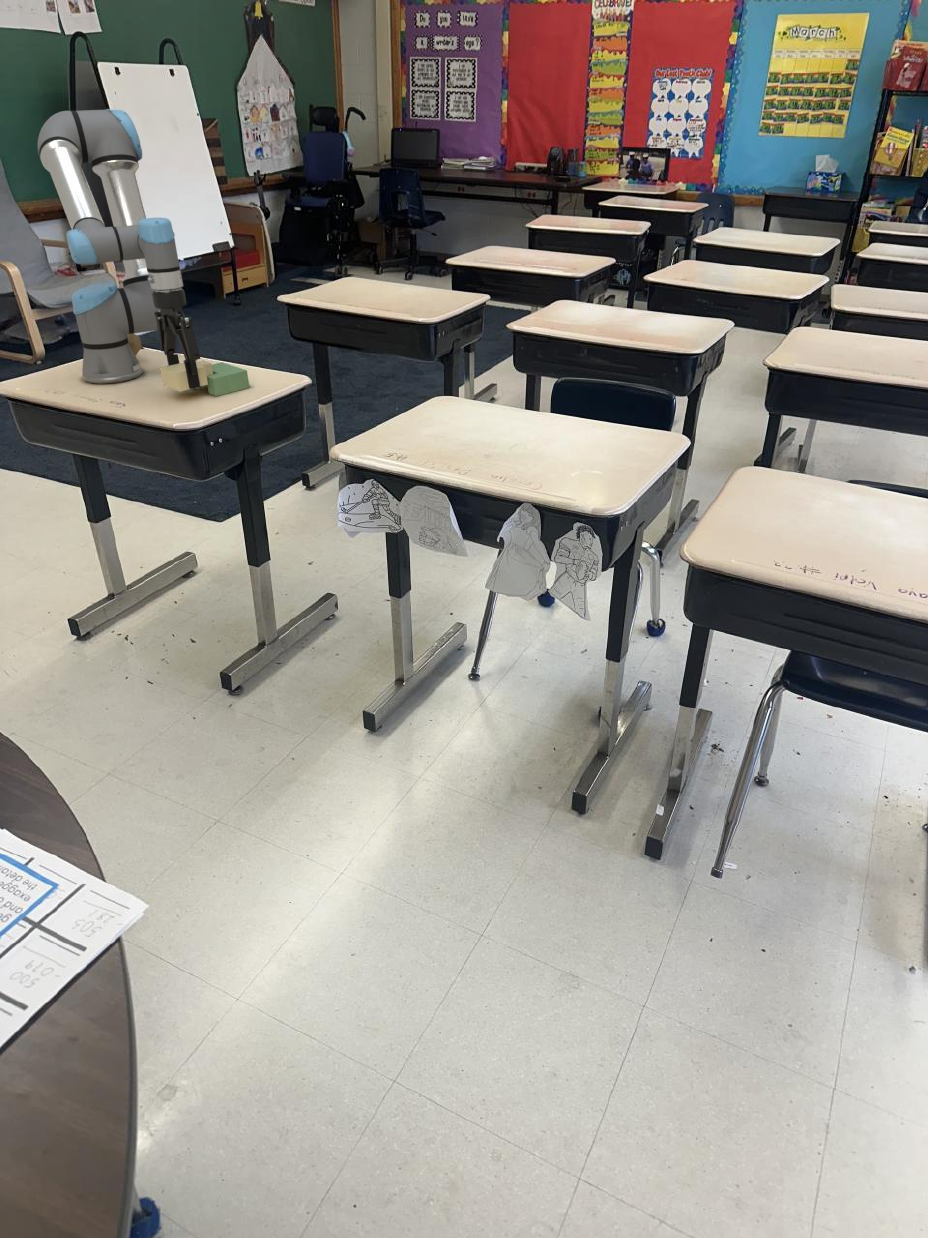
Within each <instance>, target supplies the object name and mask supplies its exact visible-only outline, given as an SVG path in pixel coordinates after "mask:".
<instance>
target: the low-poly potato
mask: <svg viewBox="0 0 928 1238" xmlns="http://www.w3.org/2000/svg"><path fill="white" fill-rule="evenodd" d="M127 338H128V342H129V346H130V347H131V349H132V351H133V353H134V355H135V356H136V357H137V355H138V354H139V352H140V351H141V350H146V348H145V347H143V344H142V341H141V340H142V339H141V336H140V335H138V334H137V333H133V334H127Z"/></svg>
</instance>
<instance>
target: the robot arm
mask: <svg viewBox="0 0 928 1238" xmlns="http://www.w3.org/2000/svg"><path fill="white" fill-rule="evenodd" d="M37 152H38V157H39V159H40V162H41V164H42V166H43V168H44V169H45V170H46V171H47V172H48V173H49V174H50V177H51V179H52V182H53V184H54V186H55V189H56V192H57V195H58V197H59V201H60V202H61V206H62V207H63V211H64V213H65V216H66V218H67V221H68V224H69V226H70V230H67V231H66V240H67V246H68V250H69V253H70V256H71V259H72V261H73V262H74V263H75V264H76V265H95V264H103V263H105V264H106V263H112V262H113V263H114V262H121V261H122V263H123V266H124V267H123V268H124V271H125V275H124V277H123V278H122V280H121V281H122V282H121V283H122V286H123V287H119V288H118V286H117V285H116V284H115V283H114V282H101V283H95V284H91V285H88V286H85V287H81V288H80V289H77V290H76V291H75V292H73V293H72V295H71V303H72V309H73V311H72V312H73V314H74V315H75V320H76V324H77V328H78V333H79V336H80V340H81V345H82V349H83V351H82V352H81V356H82V357H83V358H82V371H81V372H82V373H81V374H82V377H83V381H85V382H87V383H90V384H97V385H99V384H100V385H103V384H104V385H105V384H107V385H108V384H116V383H117V384H118V383H123V382H128V381H131V380H134V379H136V378H139V377H140V376H142V374H143V370H142V369H143V368H142V366H141V363H140V362H139V360H138V357H137V355H136V356H135V355H134V353H133V351H132V349H131V347H130V346H129V342H128V338H127V334H133V333H134V334H139V333H140V334H141V333H147V332H156V331H157V337H158V343H159V350H160V351H161V352H163V353H164V355H165V356H166V361H167V366H170V365H175V364H179V363H180V360H179V358H180V357H179V355H178V353H179V351H178V350H177V349H176V345H177V344H176V343H177V342H176V341H178V344H179V346H180V349H181V351H182V355H183V356H184V358H185V359H184V360H182V363H184V364H185V369H186V374H187V379H188V384H189V388H190V389H189V390H193V389H195V388H196V387H200V381H199V376H198V371H197V365H196V362H197V361H198V360H201V355H200V351H199V347H198V343H197V339H196V335H195V331H194V328H193V320H192V319H193V318H192V317H191V316H188V317H186V316H185V313H184V311H183V307H186V305H187V298H186V294H185V293H186V292H185V290H184V289H183V287H184V282H183V276H182V272H181V271H182V270H181V267H180V261H179V255H178V251H177V245H176V239H175V235H176V234H175V232H174V229H173V225H172V222H171V220H170V219H169V218H168V217H147V216H146V212H145V208H144V204H143V200H142V197H141V192H140V188H139V185H138V181H137V177H136V173H137V171H138V170H139V168H140V164H139V161H141V160H142V159H143V149H142V146H141V140H140V137H139V134H138V131H137V129H136V126H135V124H134V122H133V120H132V118H131V116H130V115H129V114H128V113H127V111H124V110H122V109H111V108H105V109H87V110H86V109H85V110H84V109H83V110H62V111H58V112H57V113H54V114H52V115H51V116H50V117H49V118H48V119H47V120H46V121H45V122H44V124H43V126H41V129H40V130H39V134H38V138H37ZM82 164H90V165H91V169H92V172H93V173H95V175H97V176H99V177H100V179H101V183H102V187H103V190H104V195H105V198H106V202H107V206H108V211H109V214H110V218H111V221H112V224H113V226H106V225H105V222H104V220H103V217H102V215H101V213H100V210H99V207H98V205H97V202H96V200H95V198H94V195H93V192H92V190H91V187H90V185H89V182H88V180H87V178H86V177H87V176H86V175H85V172H84V170H83V168H82ZM176 339H177V340H176ZM107 465H108V468H109V469H110V470H111V469H112V464H111V463H110V462H107Z"/></svg>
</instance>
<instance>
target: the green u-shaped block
mask: <svg viewBox="0 0 928 1238" xmlns="http://www.w3.org/2000/svg"><path fill="white" fill-rule="evenodd" d="M211 364H212V363H211ZM212 370H213V375H209V376H207V381H208V385H204V386H200V387H196V388H194V389H195V390H203V389H206V388H207V390H208V394H209V395H211V396H214V397H219V396H222V395H227V394H230V393H235V392H237V391H241V390H245V389H249V388H250V380H249V376H248V375H249V374H248V370H247V369H244V368H242V367H238V366H235V365H232V364H228V363H226V362H222V361H221V362H218V363H217V362H216V363H213V364H212Z"/></svg>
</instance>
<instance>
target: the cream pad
mask: <svg viewBox="0 0 928 1238" xmlns="http://www.w3.org/2000/svg"><path fill="white" fill-rule="evenodd" d="M196 365H197V371H198V376H199V381H200V386H204V385H208V381H207V376H209V375H213V370H212V362H209V361H206V360H199V361H198V360H197V361H196ZM159 369H160V374H161V378H162V379H161V380H162V383H163V386H164V387H167V388H170V389H171V390H175V391H177V392H184V391H188V390H191V389H190V388H189V384H188V379H187V374H186V369H185V364H184V362H179V364H175V365H170V366H168V365H167V366H161V367H160V368H159Z"/></svg>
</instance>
